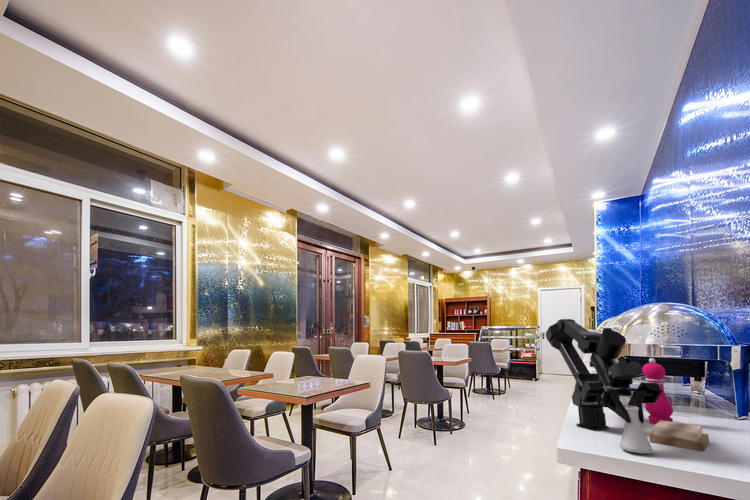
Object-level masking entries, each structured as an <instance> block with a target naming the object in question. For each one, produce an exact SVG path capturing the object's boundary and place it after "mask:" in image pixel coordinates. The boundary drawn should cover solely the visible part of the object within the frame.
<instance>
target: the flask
mask: <svg viewBox="0 0 750 500" xmlns="http://www.w3.org/2000/svg"><path fill="white" fill-rule="evenodd" d="M623 406H624V408H625V410H626V411H627V413H628V415H629V417H630V420H631V422H630V423H627V422H626V421H625V423H624V429H623V432H622V435H621V438H620V442H619V447H620V449H623V450H625V451H628V452H630V453H631V452H632V453H639V454H653V453H654V454H655V451H654V448H653V447H652V444H651V442H650V439H648V437H647V434H646V433H645V430H644V428H643V425H642V423H641V422H640V420H639V417H638V411H639V408H638V407H635V406H628V405H623Z"/></svg>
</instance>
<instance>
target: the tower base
mask: <svg viewBox="0 0 750 500" xmlns="http://www.w3.org/2000/svg"><path fill="white" fill-rule="evenodd" d="M652 428H653V430H652V431H651V432H650V433H649V434H648V437H649V439H648V440H649V442H650V444H651V443H652V444H658V445H662V446H663V445H664V446H669V447H674V448H679V449H686V450H691V451H697V452H702V453H704V452H705V450H706V449H707V448H708V445H709V444H710V438H709V434H708V433H703V426H701V425H693V424H689V423H687V424H686V423H683V422H682V423H680V422H674V421H673V422H668V421H661V420H660V421H659V422H658V423H657V424H653V427H652Z"/></svg>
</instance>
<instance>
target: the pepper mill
mask: <svg viewBox="0 0 750 500" xmlns="http://www.w3.org/2000/svg"><path fill="white" fill-rule="evenodd" d="M642 371H643V373H642V374H643V375H644V376H645V377H646V378H645V382H655V383H658V384H659V385H660V387H661V388H662V390H663V391H662V393H661V394H660V396H659V398H658V399H657V401H656V402H655V403H644V405H645V407H644V409H645V411H646V412H647V413H648V414H649V415H648V422H649V423H650V424H652V425H655V424H657V423H658V422H659V421H660V420H661V421H668V422H674V420H673V418H672V417H671V416H672V415H673V413H674V408H673V405H672V403H671V401H670V400H669V399H668V397H667V395H666V392H665V389H664V386H665V383H666V382H665V379H664V377H665V376H666V369H665V368H664V366H663V365H661V364H659V363H657V362H656V359H655V358H653V357H650V358H649V359H648V363H647V362H646V363H645V364H644V365H643V366H642Z"/></svg>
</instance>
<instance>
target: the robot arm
mask: <svg viewBox="0 0 750 500" xmlns="http://www.w3.org/2000/svg"><path fill="white" fill-rule="evenodd" d="M545 337H546V340H547V341H548V343H549V344H550V345H551V347H552V348H553V349H554V348H555V350H557V351H559V352H560V354H561V356H562V358H563V360H564V361H565V363H566V365H567V366H568V367H567V368H568V369H569V371H570V373H571V375H572V376H573V378H574V381H575V386H574V388H573V392H572V395H571V400H572V404H573V405H575V406H577V409H578V419H579V421H578V422H579V423H576V424H575V425H576V426H577V427H579V428H580V427H581V428H585V429H588V430H591V431H602V430H607V429H609V428H610V427H609V425H607V420H606V414H605V412H604V408H608V409H609V410H610V411H612V412H613V413H615V414H616V415H617V416H619V417H620V418H621V419H622V420H624V421H625V423H626V422H627V423H630V422H631V420H630V417H629V415H628V413H627V411H626V410H625V408H624V406H625V405H624V404H623V403H622V401H621V399H620V397H627V399H628V403H627V406H635V407H638V408H639V411H638V417H639V420H640V423H641V424H644V423H645V417H644V416H645V415H644V410H643V404H645V403H655V402H656V401H657V399H658V398H659V396H660V394H661V393H662V391H663V390H662V388H661V387H660V385H659V384H658V383H655V382H646V381H645V382H644V381H642V382H640V384H638V387H637V386H636V387H635V386H633V387H632V386H630V385H633V383H634V380H633V379H634V378H637V377H638V376H640V375H642V374H643V367H642V366H641V365H640V363H639V362H638V361H630V362H618V363H617V362H616V360H617V359H618V358H619V357H620V355H621V354H622V351H623V349H624V346H625V345H626V343H627V340H626V337H625V336H624V335H622V334H621V333H620V332H618V331H615V330H613V329H612V327H603V329H602V332H601V333H599V332H597V331H590V330H589V329H586V328H585V327H583V326H582V325H580V324H579V323H577V322H576V320H574V319H573V318H562V319H561V318H560V319H558V320H557V322H555V323H554V324H552V325H550V326H549V327H548V329H547V330H546V332H545ZM573 341H576V343H577V348H578V349H579V350H580V351H581V352H582V353H583V354H586V355H587V354H590V358H589V359H590V361H589V367H590V368H594V370H595V371H596V373H590V370H589V369H588V368H587V366H586V364H585V363H584V360H583V359H582V357H581V356H580V354H579V353H578V351H577V349H576V347H575V346H574V344H573Z"/></svg>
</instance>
